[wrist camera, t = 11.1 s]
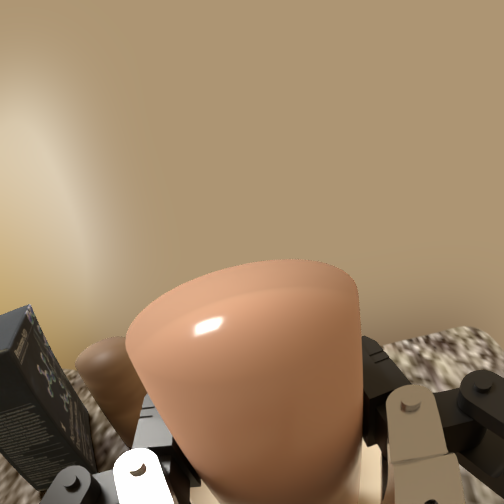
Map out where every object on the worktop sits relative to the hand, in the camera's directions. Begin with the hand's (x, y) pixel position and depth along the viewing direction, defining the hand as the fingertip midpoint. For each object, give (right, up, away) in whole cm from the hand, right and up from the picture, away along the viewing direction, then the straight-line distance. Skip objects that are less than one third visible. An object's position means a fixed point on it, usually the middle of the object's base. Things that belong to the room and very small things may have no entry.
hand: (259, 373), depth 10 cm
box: (-14, -11, +6) cm, 19 cm away
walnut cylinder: (-8, -9, +8) cm, 14 cm away
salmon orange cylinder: (+2, -6, -1) cm, 7 cm away
